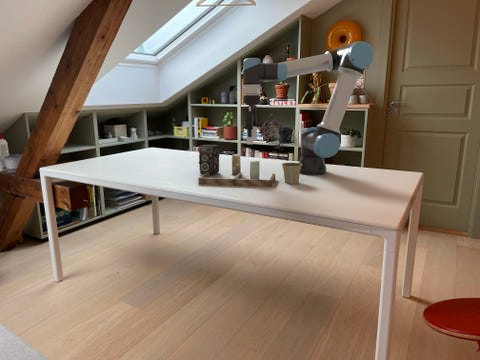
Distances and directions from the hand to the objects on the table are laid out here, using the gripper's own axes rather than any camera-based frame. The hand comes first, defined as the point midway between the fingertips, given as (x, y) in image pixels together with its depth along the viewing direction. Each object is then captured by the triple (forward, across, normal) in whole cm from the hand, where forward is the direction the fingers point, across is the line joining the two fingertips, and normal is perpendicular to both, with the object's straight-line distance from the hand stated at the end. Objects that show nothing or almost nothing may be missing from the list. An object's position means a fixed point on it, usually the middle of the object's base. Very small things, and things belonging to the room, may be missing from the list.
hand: (252, 142), depth 164 cm
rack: (+19, +2, -7) cm, 20 cm away
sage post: (+19, +2, +1) cm, 19 cm away
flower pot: (+19, 0, +18) cm, 26 cm away
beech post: (+19, -14, -10) cm, 26 cm away
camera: (+19, -13, -24) cm, 33 cm away
